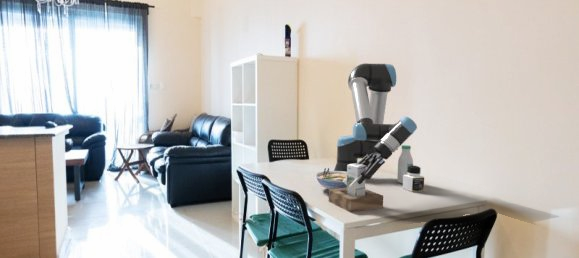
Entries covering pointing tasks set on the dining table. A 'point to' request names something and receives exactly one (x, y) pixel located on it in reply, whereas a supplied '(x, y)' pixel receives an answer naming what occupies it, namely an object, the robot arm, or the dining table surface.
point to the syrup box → (352, 174)
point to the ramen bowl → (332, 179)
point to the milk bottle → (404, 162)
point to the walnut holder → (355, 200)
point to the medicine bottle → (413, 179)
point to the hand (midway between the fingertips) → (348, 185)
